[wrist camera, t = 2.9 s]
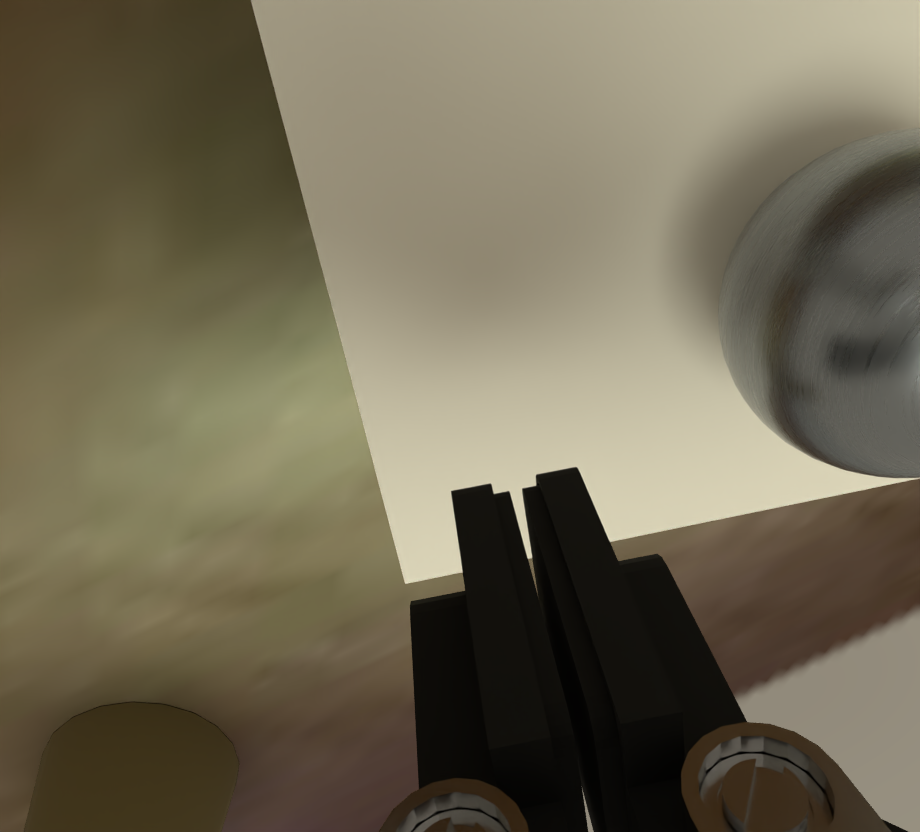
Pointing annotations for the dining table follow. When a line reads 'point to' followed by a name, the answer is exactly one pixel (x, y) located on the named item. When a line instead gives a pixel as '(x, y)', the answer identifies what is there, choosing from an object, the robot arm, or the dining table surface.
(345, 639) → the dining table surface
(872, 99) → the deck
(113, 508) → the dining table surface
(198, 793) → the cork
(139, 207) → the dining table surface
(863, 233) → the ball
